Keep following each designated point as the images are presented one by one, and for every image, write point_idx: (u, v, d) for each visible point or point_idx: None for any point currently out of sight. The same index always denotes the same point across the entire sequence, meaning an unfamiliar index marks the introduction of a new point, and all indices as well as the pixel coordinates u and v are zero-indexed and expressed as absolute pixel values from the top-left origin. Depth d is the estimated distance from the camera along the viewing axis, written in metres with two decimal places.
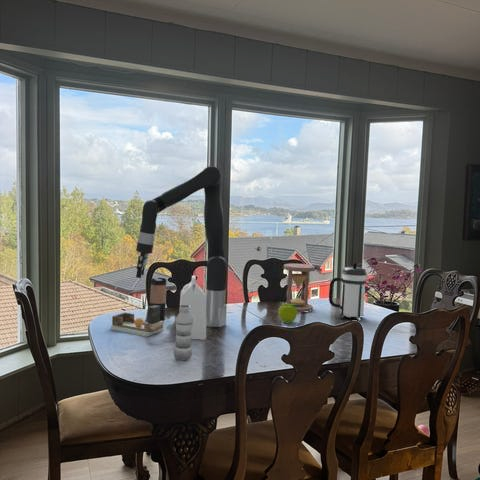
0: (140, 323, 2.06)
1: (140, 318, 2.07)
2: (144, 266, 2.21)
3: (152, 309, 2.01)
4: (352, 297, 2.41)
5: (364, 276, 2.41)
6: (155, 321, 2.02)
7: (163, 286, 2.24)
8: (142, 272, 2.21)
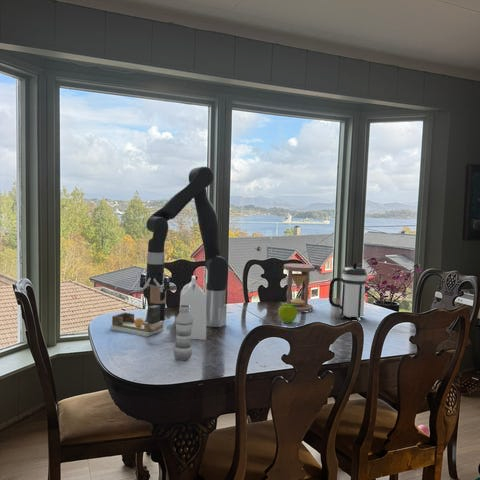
0: (140, 323, 2.06)
1: (140, 318, 2.07)
2: (148, 287, 2.05)
3: (152, 309, 2.01)
4: (352, 297, 2.41)
5: (364, 276, 2.41)
6: (155, 321, 2.02)
7: None
8: (147, 294, 2.05)
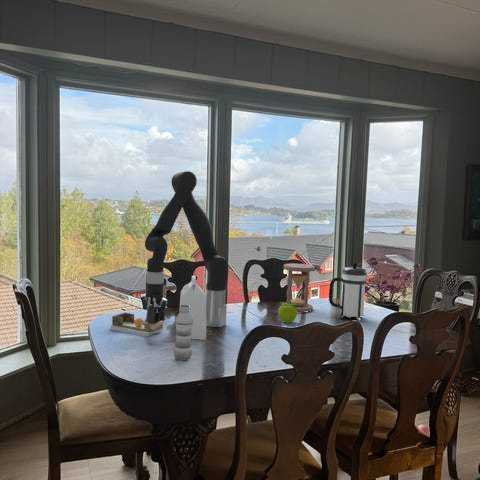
0: (140, 323, 2.06)
1: (140, 318, 2.07)
2: None
3: (152, 309, 2.01)
4: (352, 297, 2.41)
5: (364, 276, 2.41)
6: (155, 321, 2.02)
7: None
8: None
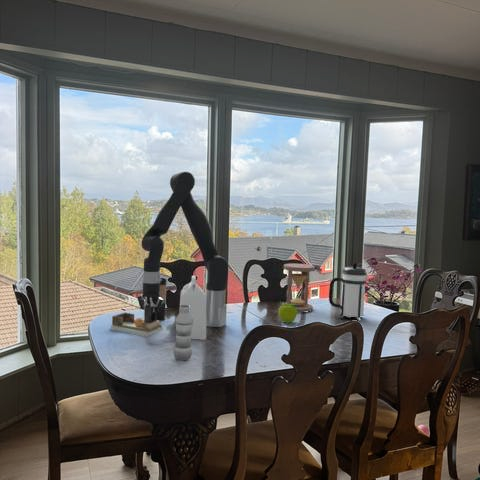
0: (140, 323, 2.06)
1: (140, 318, 2.07)
2: None
3: (149, 308, 2.01)
4: (352, 297, 2.41)
5: (364, 276, 2.41)
6: None
7: (163, 286, 2.24)
8: None
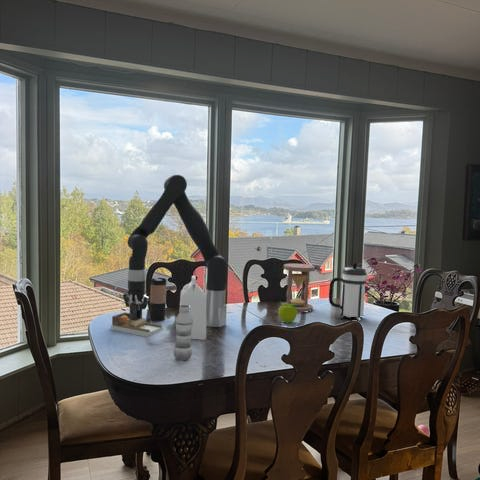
0: None
1: (124, 323, 2.11)
2: None
3: (134, 306, 2.05)
4: (352, 297, 2.41)
5: (364, 276, 2.41)
6: (137, 318, 2.07)
7: (163, 286, 2.24)
8: None
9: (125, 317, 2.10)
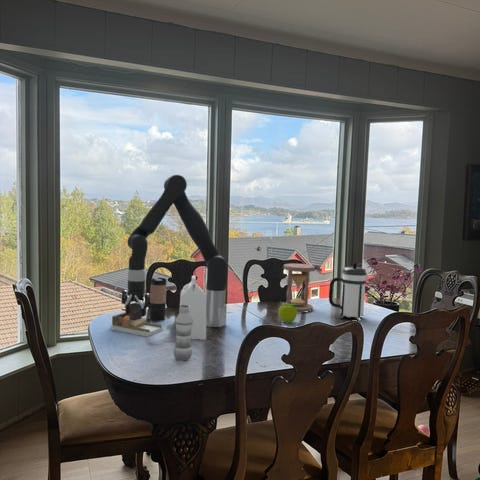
0: (123, 318, 2.10)
1: None
2: (129, 304, 2.10)
3: (133, 306, 2.05)
4: (352, 297, 2.41)
5: (364, 276, 2.41)
6: (137, 318, 2.07)
7: (163, 286, 2.24)
8: (129, 310, 2.10)
9: None
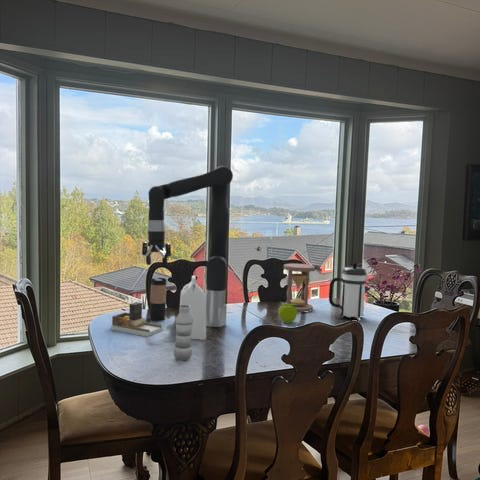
0: None
1: None
2: None
3: (133, 306, 2.05)
4: (352, 297, 2.41)
5: (364, 276, 2.41)
6: (137, 318, 2.07)
7: (163, 286, 2.24)
8: (149, 261, 2.15)
9: None
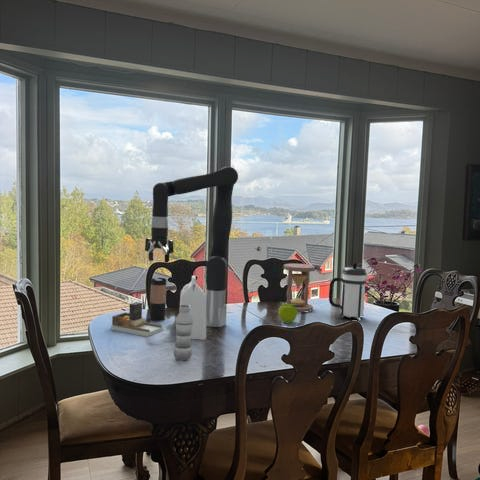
0: None
1: None
2: (152, 251, 2.16)
3: (133, 306, 2.05)
4: (352, 297, 2.41)
5: (364, 276, 2.41)
6: (137, 318, 2.07)
7: (163, 286, 2.24)
8: (152, 257, 2.16)
9: None
